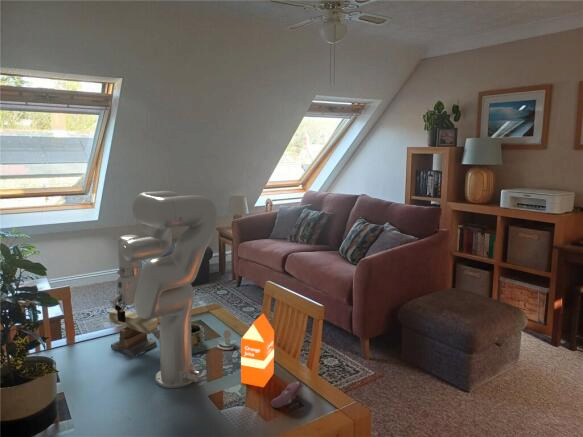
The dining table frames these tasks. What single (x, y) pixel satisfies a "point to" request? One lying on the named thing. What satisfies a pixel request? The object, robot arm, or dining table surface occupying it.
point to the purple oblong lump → (287, 395)
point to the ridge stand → (132, 342)
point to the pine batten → (134, 322)
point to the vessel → (196, 336)
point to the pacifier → (226, 341)
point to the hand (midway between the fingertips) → (132, 316)
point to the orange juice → (257, 353)
